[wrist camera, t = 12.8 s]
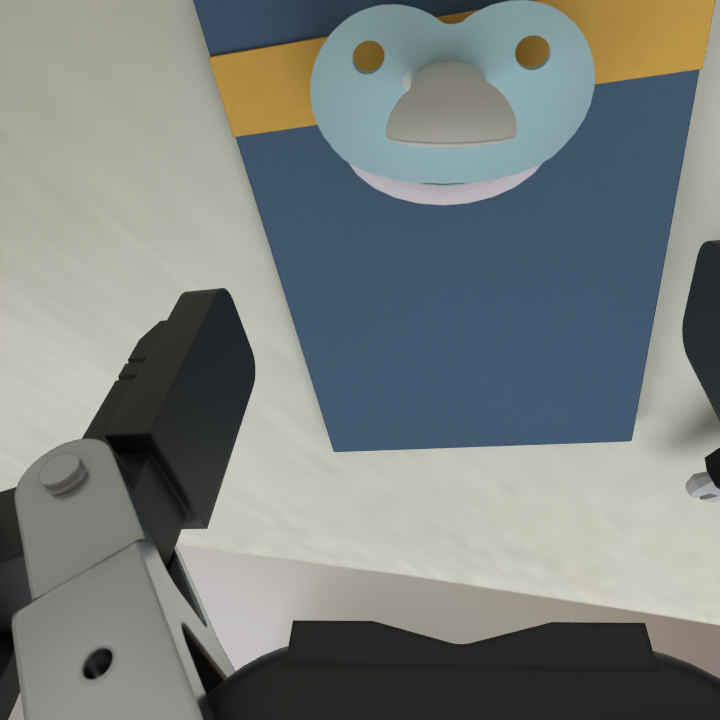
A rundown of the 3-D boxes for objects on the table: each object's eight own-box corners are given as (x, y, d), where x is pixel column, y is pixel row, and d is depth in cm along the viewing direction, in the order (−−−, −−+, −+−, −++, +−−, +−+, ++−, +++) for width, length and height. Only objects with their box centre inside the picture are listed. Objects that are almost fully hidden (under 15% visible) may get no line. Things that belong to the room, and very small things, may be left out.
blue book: (336, 437, 30) (333, 454, 29) (201, -11, 17) (189, -4, 17) (626, 425, 28) (632, 444, 27) (719, -115, 15) (736, -112, 14)
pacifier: (553, 194, 20) (591, -18, 15) (587, 313, 15) (654, 59, 11) (334, 195, 20) (315, -6, 16) (304, 308, 16) (268, 70, 12)
